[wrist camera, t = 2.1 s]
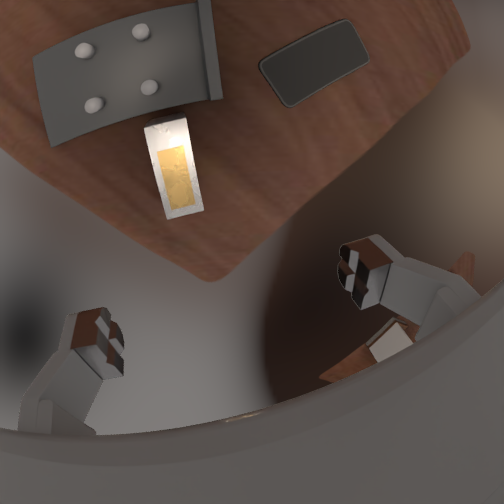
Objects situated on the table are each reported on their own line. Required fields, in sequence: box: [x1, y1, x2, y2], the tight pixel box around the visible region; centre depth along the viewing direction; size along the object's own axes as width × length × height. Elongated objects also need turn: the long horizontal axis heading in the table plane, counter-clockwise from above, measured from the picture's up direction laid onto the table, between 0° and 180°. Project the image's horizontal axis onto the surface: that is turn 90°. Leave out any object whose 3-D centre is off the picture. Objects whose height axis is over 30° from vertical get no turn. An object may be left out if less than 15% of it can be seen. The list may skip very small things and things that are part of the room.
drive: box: [144, 112, 204, 220], centre depth 27 cm, size 10×4×6 cm, turn 6°
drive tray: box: [33, 0, 223, 148], centre depth 20 cm, size 12×20×4 cm, turn 96°
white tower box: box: [366, 317, 413, 362], centre depth 60 cm, size 11×11×35 cm
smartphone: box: [258, 19, 370, 108], centre depth 26 cm, size 7×1×15 cm
